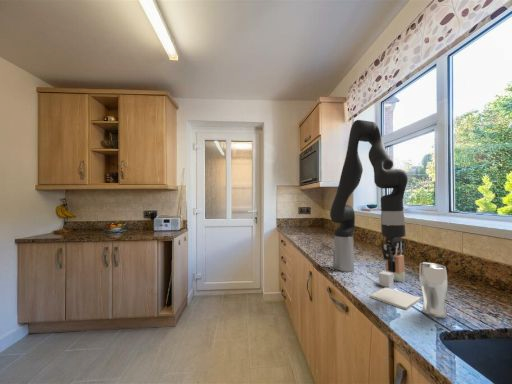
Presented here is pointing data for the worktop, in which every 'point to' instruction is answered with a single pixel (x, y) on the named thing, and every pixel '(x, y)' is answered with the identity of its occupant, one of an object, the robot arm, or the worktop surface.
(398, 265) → the terracotta block
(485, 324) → the worktop surface
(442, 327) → the worktop surface
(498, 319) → the worktop surface
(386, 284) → the grey block
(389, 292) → the cream pad
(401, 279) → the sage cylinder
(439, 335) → the worktop surface
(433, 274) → the beer glass
